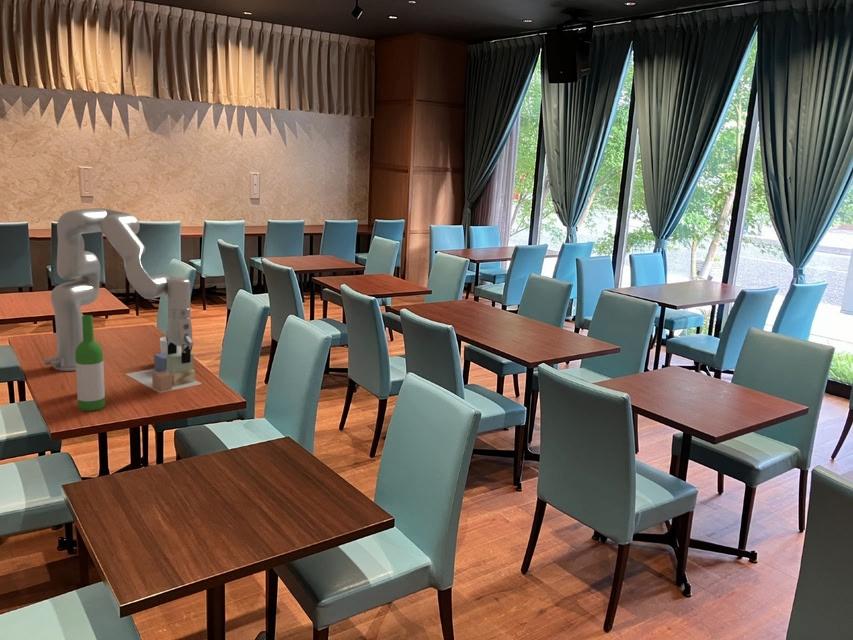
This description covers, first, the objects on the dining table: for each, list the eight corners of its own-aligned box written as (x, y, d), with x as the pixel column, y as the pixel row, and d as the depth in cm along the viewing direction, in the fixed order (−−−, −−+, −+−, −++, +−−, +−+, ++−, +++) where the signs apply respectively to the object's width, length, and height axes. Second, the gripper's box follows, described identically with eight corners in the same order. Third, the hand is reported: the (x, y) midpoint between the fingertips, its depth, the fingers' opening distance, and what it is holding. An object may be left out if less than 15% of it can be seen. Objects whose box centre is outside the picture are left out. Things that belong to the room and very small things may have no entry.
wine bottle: (91, 413, 212) (86, 319, 206) (72, 409, 215) (67, 316, 208) (110, 406, 220) (107, 315, 213) (92, 402, 222) (87, 311, 215)
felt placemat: (159, 393, 234) (159, 392, 234) (125, 374, 251) (125, 373, 250) (202, 384, 245) (202, 383, 245) (166, 366, 262) (166, 366, 262)
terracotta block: (161, 391, 235) (160, 377, 234) (152, 386, 239) (152, 373, 238) (172, 389, 238) (171, 375, 237) (163, 384, 242) (163, 371, 241)
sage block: (172, 373, 242) (172, 357, 240) (167, 371, 244) (166, 354, 243) (193, 369, 247) (193, 353, 246) (187, 367, 250) (187, 351, 249)
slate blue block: (173, 372, 256) (173, 357, 254) (163, 374, 253) (163, 358, 251) (164, 367, 260) (164, 352, 259) (154, 369, 257) (154, 354, 256)
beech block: (174, 385, 242) (174, 374, 241) (166, 381, 246) (165, 370, 245) (195, 381, 248) (195, 370, 247) (186, 377, 251) (186, 366, 251)
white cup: (177, 367, 263) (177, 341, 261) (157, 365, 263) (156, 340, 261) (185, 361, 271) (184, 336, 268) (165, 360, 271) (164, 335, 268)
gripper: (201, 316, 238) (201, 363, 242) (176, 306, 249) (176, 351, 253) (181, 319, 233) (181, 367, 237) (156, 309, 244) (157, 355, 248)
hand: (179, 359), depth 245 cm, fingers open, 9 cm apart
